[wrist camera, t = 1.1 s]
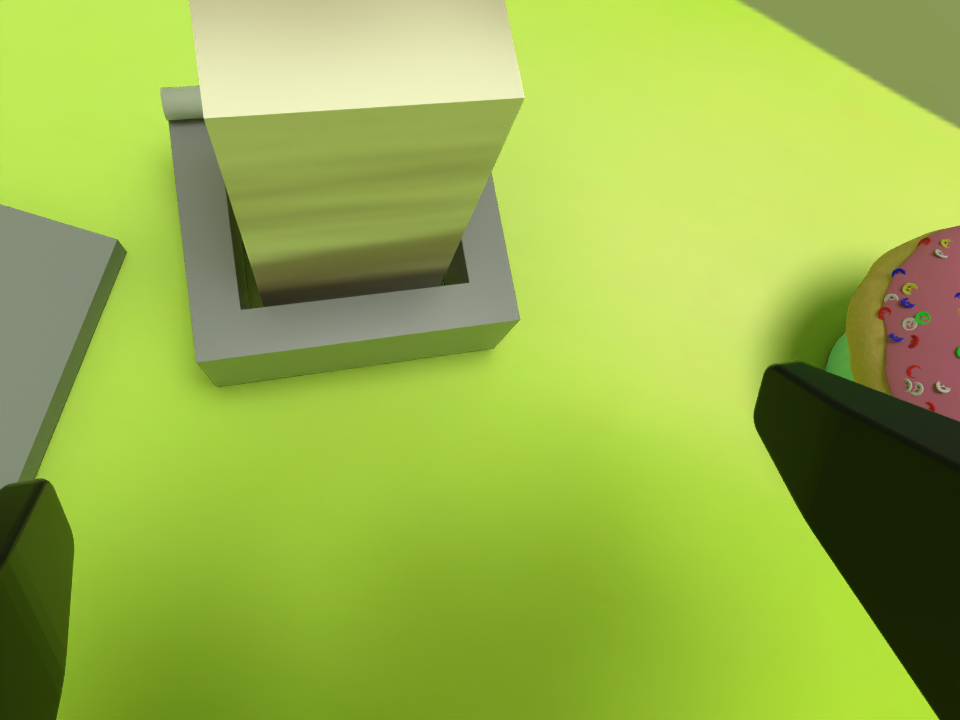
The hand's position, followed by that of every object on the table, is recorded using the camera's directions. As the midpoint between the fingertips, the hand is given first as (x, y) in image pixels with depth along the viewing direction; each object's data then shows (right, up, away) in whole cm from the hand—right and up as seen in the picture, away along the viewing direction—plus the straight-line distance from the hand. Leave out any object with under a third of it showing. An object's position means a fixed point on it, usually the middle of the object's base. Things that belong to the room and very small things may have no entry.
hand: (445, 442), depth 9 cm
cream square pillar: (-4, +4, +14) cm, 15 cm away
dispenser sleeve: (-4, +4, +14) cm, 15 cm away
